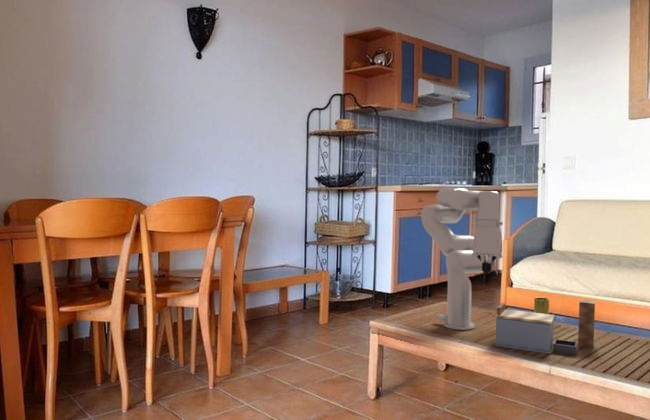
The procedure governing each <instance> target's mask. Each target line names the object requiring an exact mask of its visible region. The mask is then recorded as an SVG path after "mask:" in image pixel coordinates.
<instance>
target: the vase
mask: <svg viewBox="0 0 650 420" xmlns="http://www.w3.org/2000/svg"><path fill="white" fill-rule="evenodd" d="M533 313H542V314H550V299H549V298H548V297H541V296H536V297H534V307H533Z"/></svg>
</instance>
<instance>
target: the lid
mask: <svg viewBox="0 0 650 420" xmlns="http://www.w3.org/2000/svg"><path fill="white" fill-rule="evenodd" d="M555 316H556V315H555V314H550V313H549V314H542V313H534V311H533V312H531V311H525V310H523V311H522V310H514V309H507V308H506V303H505V302H502V303H500V304H499V305H498V306H497V307H496V314H495V316H494V317H495V319H496V318H505V319H513V320H521V321H529V322H537V323H545V324H552V322H553V320H555Z"/></svg>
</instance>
